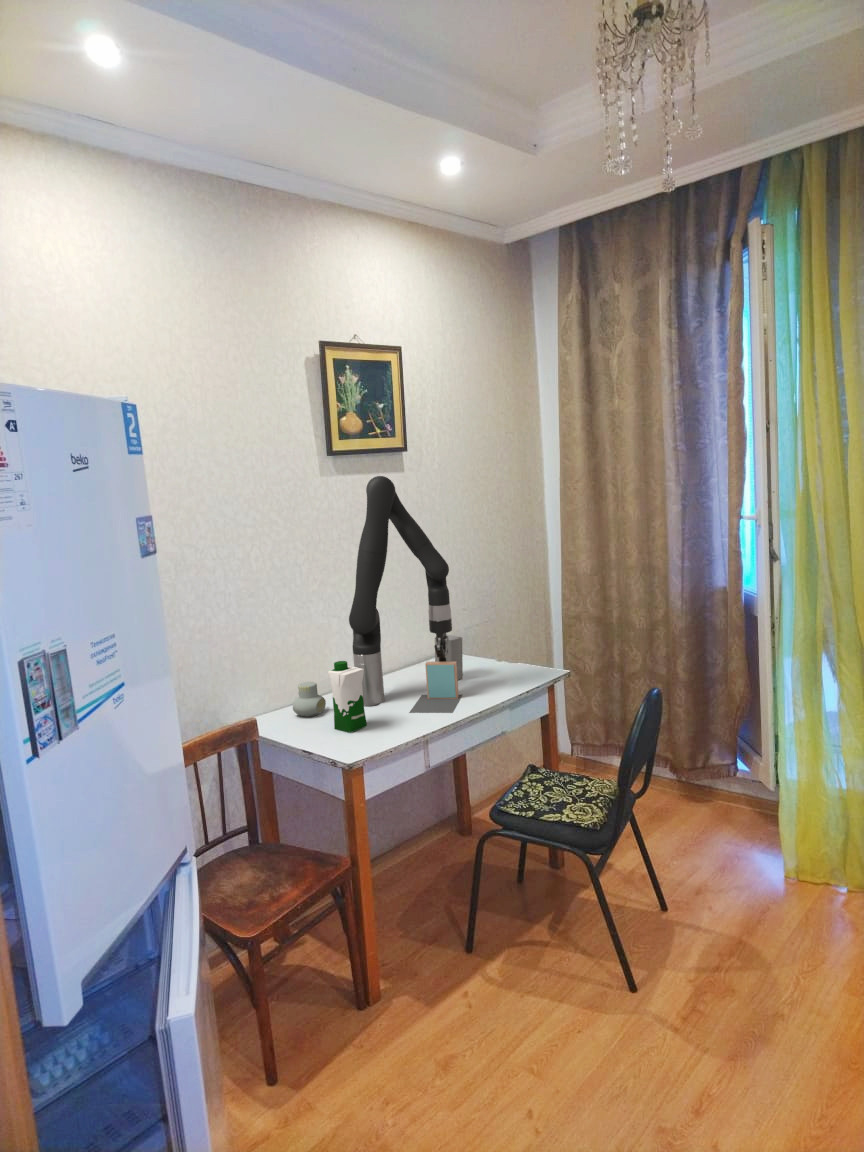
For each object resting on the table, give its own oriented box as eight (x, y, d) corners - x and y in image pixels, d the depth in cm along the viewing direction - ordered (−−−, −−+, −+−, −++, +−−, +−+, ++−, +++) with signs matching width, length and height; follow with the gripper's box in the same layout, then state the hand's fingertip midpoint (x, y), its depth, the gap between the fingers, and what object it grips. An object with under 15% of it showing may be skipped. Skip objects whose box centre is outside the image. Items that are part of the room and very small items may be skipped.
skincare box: (434, 680, 275) (432, 637, 273) (447, 675, 280) (444, 633, 278) (452, 683, 269) (450, 639, 267) (465, 678, 275) (462, 635, 273)
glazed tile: (427, 699, 251) (425, 663, 250) (429, 696, 254) (426, 661, 252) (457, 698, 249) (455, 663, 248) (458, 696, 252) (456, 661, 250)
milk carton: (351, 721, 235) (345, 658, 232) (371, 726, 229) (366, 661, 226) (329, 729, 229) (324, 665, 226) (350, 734, 223) (345, 668, 220)
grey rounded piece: (314, 719, 239) (311, 689, 238) (290, 719, 241) (287, 688, 240) (328, 708, 249) (326, 679, 248) (305, 708, 252) (303, 679, 250)
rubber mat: (409, 713, 238) (409, 712, 238) (422, 695, 257) (422, 694, 257) (452, 714, 235) (452, 712, 235) (462, 695, 254) (462, 694, 254)
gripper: (432, 613, 259) (435, 663, 261) (425, 621, 246) (428, 673, 248) (454, 613, 257) (457, 663, 260) (447, 621, 245) (451, 673, 247)
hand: (443, 668), depth 254 cm, fingers closed
